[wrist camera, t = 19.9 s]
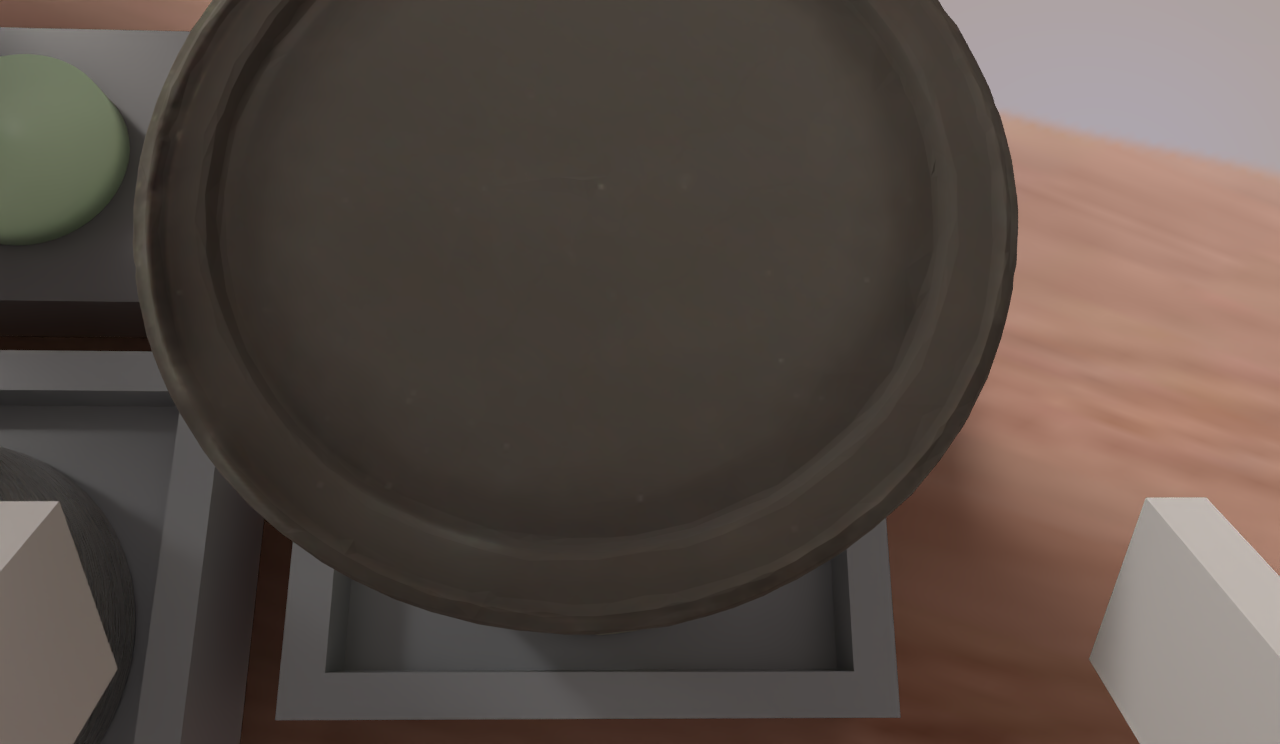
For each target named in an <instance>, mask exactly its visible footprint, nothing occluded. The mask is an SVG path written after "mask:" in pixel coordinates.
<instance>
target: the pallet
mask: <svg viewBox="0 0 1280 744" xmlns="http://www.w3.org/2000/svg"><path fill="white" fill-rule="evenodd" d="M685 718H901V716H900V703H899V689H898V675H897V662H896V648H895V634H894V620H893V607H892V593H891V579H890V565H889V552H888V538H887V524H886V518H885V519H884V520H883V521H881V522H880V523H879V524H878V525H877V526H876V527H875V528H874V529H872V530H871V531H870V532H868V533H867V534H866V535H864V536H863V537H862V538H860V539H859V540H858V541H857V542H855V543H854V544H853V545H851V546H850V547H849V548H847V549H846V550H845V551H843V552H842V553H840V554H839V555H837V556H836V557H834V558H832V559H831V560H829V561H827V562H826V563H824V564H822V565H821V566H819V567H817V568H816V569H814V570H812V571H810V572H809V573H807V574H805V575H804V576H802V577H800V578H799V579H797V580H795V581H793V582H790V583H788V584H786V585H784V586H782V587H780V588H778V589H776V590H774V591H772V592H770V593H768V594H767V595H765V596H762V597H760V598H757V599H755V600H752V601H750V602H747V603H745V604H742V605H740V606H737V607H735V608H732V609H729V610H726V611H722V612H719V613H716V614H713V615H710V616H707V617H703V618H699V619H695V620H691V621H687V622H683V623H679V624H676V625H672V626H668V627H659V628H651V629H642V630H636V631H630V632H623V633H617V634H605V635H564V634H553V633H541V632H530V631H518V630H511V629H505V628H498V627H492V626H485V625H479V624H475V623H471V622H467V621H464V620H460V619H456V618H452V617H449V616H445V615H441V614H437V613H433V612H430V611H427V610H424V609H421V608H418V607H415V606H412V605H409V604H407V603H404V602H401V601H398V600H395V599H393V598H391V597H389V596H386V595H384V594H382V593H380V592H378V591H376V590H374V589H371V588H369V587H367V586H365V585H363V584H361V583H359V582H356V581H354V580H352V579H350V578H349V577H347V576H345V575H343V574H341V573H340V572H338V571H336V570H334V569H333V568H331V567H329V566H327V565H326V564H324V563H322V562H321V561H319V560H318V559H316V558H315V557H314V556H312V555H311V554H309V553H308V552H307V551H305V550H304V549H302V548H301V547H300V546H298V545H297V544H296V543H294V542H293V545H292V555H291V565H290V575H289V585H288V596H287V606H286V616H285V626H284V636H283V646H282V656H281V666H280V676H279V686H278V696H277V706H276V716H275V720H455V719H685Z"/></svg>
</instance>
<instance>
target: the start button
mask: <svg viewBox="0 0 1280 744" xmlns="http://www.w3.org/2000/svg"><path fill="white" fill-rule="evenodd" d="M189 33H190V32H187V31H142V30H97V29H52V28H8V27H0V336H35V337H131V338H147V335H146V330H145V325H144V320H143V316H142V312H141V307H140V303H139V298H138V292H137V285H136V278H135V275H136V266H135V263H134V256H133V232H134V225H133V206H134V198H135V190H136V183H137V176H138V167H139V162H140V157H141V153H142V149H143V144H144V140H145V136H146V133H147V130H148V127H149V124H150V120H151V117H152V114H153V111H154V108H155V105H156V102H157V99H158V97H159V95H160V92H161V90H162V88H163V85H164V83H165V81H166V78H167V76H168V74H169V71H170V69H171V67H172V65H173V63H174V61H175V59H176V57H177V55H178V53H179V51H180V49H181V48H182V46H183V44H184V42H185V40H186V39H187V37H188V35H189Z"/></svg>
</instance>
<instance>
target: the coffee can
mask: <svg viewBox="0 0 1280 744" xmlns="http://www.w3.org/2000/svg"><path fill="white" fill-rule="evenodd" d="M133 225H134V232H133V256H134V263H135V266H136V275H135V278H136V285H137V292H138V298H139V303H140V307H141V312H142V316H143V320H144V325H145V330H146V335H147V338H148V341H149V344H150V347H151V350H152V353H153V356H154V358H155V361H156V363H157V366H158V369H159V371H160V374H161V376H162V379H163V381H164V383H165V385H166V388H167V390H168V392H169V394H170V396H171V398H172V400H173V402H174V404H175V406H176V407H177V409H178V411H179V413H180V414H181V416H182V417H183V419H184V421H185V422H186V424H187V426H188V427H189V429H190V431H191V432H192V434H193V435H194V437H195V439H196V440H197V442H198V443H199V445H200V446H201V448H202V450H203V451H204V452H205V454H206V455H207V456H208V458H209V459H210V460H211V462H212V463H213V464H214V466H215V467H216V468H217V469H218V471H219V472H220V473H221V475H222V476H223V477H224V478H225V479H226V480H227V482H228V483H229V484H230V485H231V486H232V487H233V488H234V489H235V490H236V491H237V493H238V494H239V495H240V496H241V497H242V498H243V499H244V500H245V501H246V502H247V504H248V505H249V506H251V507H252V508H253V509H254V510H255V511H256V512H257V513H259V514H260V515H261V516H262V517H263V518H264V519H265V520H267V521H268V522H269V523H270V524H271V525H272V526H273V527H274V528H276V529H277V530H278V531H279V532H280V533H282V534H283V535H284V536H286V537H287V538H289V539H290V540H291V541H293V542H294V543H296V544H297V545H298V546H300V547H301V548H302V549H304V550H305V551H307V552H308V553H309V554H311V555H312V556H314V557H315V558H316V559H318V560H319V561H321V562H322V563H324V564H326V565H327V566H329V567H331V568H333V569H334V570H336V571H338V572H340V573H341V574H343V575H345V576H347V577H349V578H350V579H352V580H354V581H356V582H359V583H361V584H363V585H365V586H367V587H369V588H371V589H374V590H376V591H378V592H380V593H382V594H384V595H386V596H389V597H391V598H393V599H395V600H398V601H401V602H404V603H407V604H409V605H412V606H415V607H418V608H421V609H424V610H427V611H430V612H433V613H437V614H441V615H445V616H449V617H452V618H456V619H460V620H464V621H467V622H471V623H475V624H479V625H485V626H492V627H498V628H505V629H511V630H518V631H530V632H541V633H553V634H564V635H605V634H617V633H623V632H630V631H636V630H642V629H651V628H659V627H668V626H672V625H676V624H679V623H683V622H687V621H691V620H695V619H699V618H703V617H707V616H710V615H713V614H716V613H719V612H722V611H726V610H729V609H732V608H735V607H737V606H740V605H742V604H745V603H747V602H750V601H752V600H755V599H757V598H760V597H762V596H765V595H767V594H768V593H770V592H772V591H774V590H776V589H778V588H780V587H782V586H784V585H786V584H788V583H790V582H793V581H795V580H797V579H799V578H800V577H802V576H804V575H805V574H807V573H809V572H810V571H812V570H814V569H816V568H817V567H819V566H821V565H822V564H824V563H826V562H827V561H829V560H831V559H832V558H834V557H836V556H837V555H839V554H840V553H842V552H843V551H845V550H846V549H847V548H849V547H850V546H851V545H853V544H854V543H855V542H857V541H858V540H859V539H860V538H862V537H863V536H864V535H866V534H867V533H868V532H870V531H871V530H872V529H874V528H875V527H876V526H877V525H878V524H879V523H880V522H881V521H883V520H884V519H885V518H886V517H887V516H888V515H889V514H890V513H892V512H893V511H894V510H895V509H896V508H897V507H898V506H899V505H900V504H902V503H903V502H904V501H905V500H906V499H907V498H908V497H909V496H911V495H912V494H913V492H914V491H915V490H916V489H917V487H918V486H919V485H920V484H921V483H922V481H923V480H924V479H925V478H926V476H927V475H928V474H929V473H930V472H931V470H932V469H933V468H934V467H935V466H936V464H937V463H938V462H939V461H940V459H941V458H942V456H943V455H944V453H945V452H946V450H947V449H948V448H949V446H950V444H951V443H952V441H953V440H954V438H955V437H956V435H957V434H958V433H959V432H960V430H961V429H962V427H963V425H964V424H965V422H966V420H967V419H968V417H969V415H970V412H971V410H972V408H973V406H974V404H975V402H976V400H977V398H978V396H979V394H980V392H981V390H982V388H983V386H984V384H985V382H986V380H987V378H988V375H989V372H990V369H991V366H992V363H993V360H994V357H995V355H996V352H997V349H998V346H999V343H1000V340H1001V337H1002V333H1003V329H1004V325H1005V322H1006V318H1007V313H1008V309H1009V305H1010V300H1011V295H1012V290H1013V278H1014V272H1015V268H1016V260H1017V237H1018V204H1017V194H1016V187H1015V180H1014V173H1013V166H1012V159H1011V155H1010V151H1009V147H1008V143H1007V139H1006V135H1005V132H1004V128H1003V125H1002V121H1001V117H1000V115H999V112H998V110H997V108H996V106H995V104H994V100H993V97H992V94H991V91H990V89H989V86H988V84H987V82H986V80H985V78H984V76H983V74H982V72H981V70H980V68H979V66H978V64H977V62H976V60H975V58H974V56H973V54H972V53H971V51H970V49H969V47H968V45H967V43H966V41H965V39H964V38H963V36H962V34H961V32H960V30H959V28H958V27H957V25H956V24H955V23H954V21H953V20H952V19H951V18H950V17H949V16H948V14H947V13H946V12H945V11H944V9H943V8H942V6H941V4H940V2H939V1H938V0H213V1H212V2H211V3H210V5H209V6H208V8H207V9H206V11H205V12H204V13H203V15H202V16H201V18H200V19H199V21H198V22H197V23H196V25H195V26H194V27H193V29H192V30H191V31H190V33H189V35H188V37H187V39H186V40H185V42H184V44H183V46H182V48H181V49H180V51H179V53H178V55H177V57H176V59H175V61H174V63H173V65H172V67H171V69H170V71H169V74H168V76H167V78H166V81H165V83H164V85H163V88H162V90H161V92H160V95H159V97H158V99H157V102H156V105H155V108H154V111H153V114H152V117H151V120H150V124H149V127H148V130H147V133H146V136H145V140H144V144H143V149H142V153H141V157H140V162H139V167H138V176H137V183H136V190H135V198H134V206H133Z"/></svg>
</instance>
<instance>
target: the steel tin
mask: <svg viewBox="0 0 1280 744" xmlns="http://www.w3.org/2000/svg"><path fill="white" fill-rule="evenodd" d="M0 501H59V502H60V505H61V508H62V510H63V513H64V516H65V519H66V522H67V525H68V528H69V531H70V533H71V536H72V539H73V542H74V545H75V548H76V551H77V553H78V556H79V559H80V562H81V565H82V568H83V571H84V574H85V576H86V579H87V582H88V585H89V588H90V591H91V594H92V596H93V599H94V602H95V605H96V608H97V611H98V614H99V617H100V619H101V622H102V625H103V628H104V631H105V634H106V637H107V640H108V642H109V645H110V648H111V651H112V654H113V657H114V660H115V662H116V665H117V668H118V669H117V671H116V673H115V675H114V676H113V678H112V680H111V681H110V683H109V685H108V686H107V688H106V690H105V691H104V693H103V695H102V696H101V698H100V700H99V701H98V703H97V705H96V706H95V708H94V710H93V712H92V713H91V715H90V717H89V718H88V720H87V722H86V723H85V725H84V727H83V728H82V730H81V732H80V733H79V735H78V737H77V738H76V740H75V742H74V743H73V744H99V743H100V742H101V740H102V738H103V736H104V734H105V732H106V731H107V729H108V727H109V725H110V723H111V721H112V719H113V716H114V714H115V711H116V709H117V706H118V704H119V701H120V699H121V696H122V694H123V690H124V687H125V683H126V679H127V676H128V672H129V668H130V664H131V658H132V651H133V644H134V637H135V603H134V595H133V586H132V580H131V576H130V572H129V568H128V564H127V560H126V557H125V554H124V552H123V550H122V547H121V545H120V542H119V540H118V538H117V535H116V533H115V531H114V530H113V528H112V526H111V525H110V523H109V521H108V520H107V518H106V517H105V515H104V513H103V512H102V511H101V509H100V508H99V507H98V506H97V505H96V503H95V502H94V501H93V500H92V499H91V497H90V496H89V495H88V494H87V493H86V492H85V491H84V490H83V489H82V488H80V487H79V486H78V485H77V484H76V483H75V482H74V481H72V480H71V479H70V478H69V477H68V476H66V475H64V474H63V473H61V472H60V471H58V470H57V469H55V468H53V467H52V466H50V465H49V464H47V463H45V462H42V461H40V460H38V459H36V458H33V457H31V456H29V455H27V454H24V453H21V452H17V451H14V450H11V449H7V448H4V447H1V446H0Z"/></svg>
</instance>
